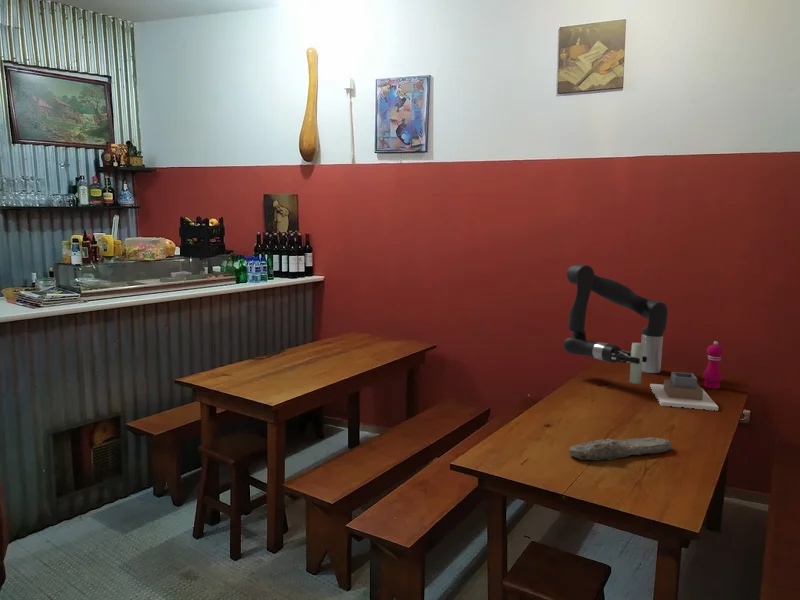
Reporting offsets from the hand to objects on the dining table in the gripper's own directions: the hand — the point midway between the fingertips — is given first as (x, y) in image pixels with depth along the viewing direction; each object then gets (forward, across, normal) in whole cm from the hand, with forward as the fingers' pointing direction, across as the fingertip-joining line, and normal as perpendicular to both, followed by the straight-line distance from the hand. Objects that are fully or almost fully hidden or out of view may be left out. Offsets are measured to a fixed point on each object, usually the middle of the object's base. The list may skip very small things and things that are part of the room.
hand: (642, 360), depth 242 cm
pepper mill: (+10, +37, +15) cm, 41 cm away
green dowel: (-3, 0, +10) cm, 10 cm away
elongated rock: (+32, -61, +14) cm, 70 cm away
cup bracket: (+12, +10, +14) cm, 21 cm away
